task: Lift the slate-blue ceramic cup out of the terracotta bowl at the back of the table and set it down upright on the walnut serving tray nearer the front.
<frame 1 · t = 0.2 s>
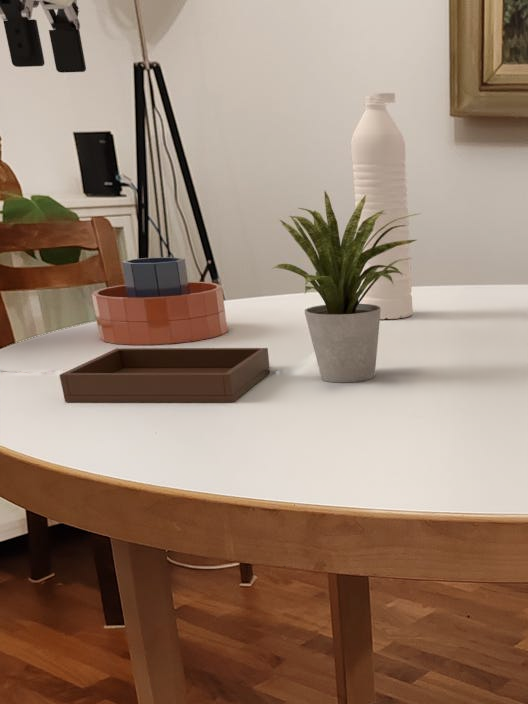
hand: (51, 69, 104), 28 cm above the table, tool pointing down, fingers open, 9 cm apart
water bottle: (389, 318, 126), on the table
tray: (173, 386, 91), on the table
bowl: (165, 339, 114), on the table
cup: (165, 333, 114), point 1 cm above the table, touching bowl
house plant: (348, 381, 93), on the table
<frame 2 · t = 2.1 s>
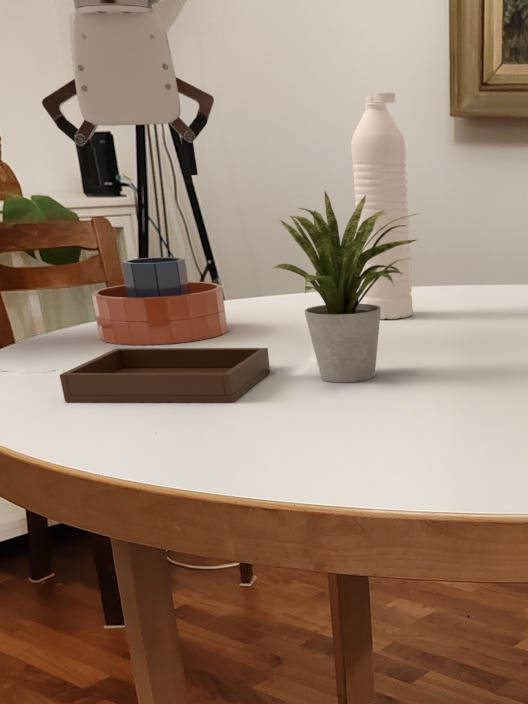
hand: (143, 185, 107), 16 cm above the table, tool pointing down, fingers open, 9 cm apart
nothing on the table moved.
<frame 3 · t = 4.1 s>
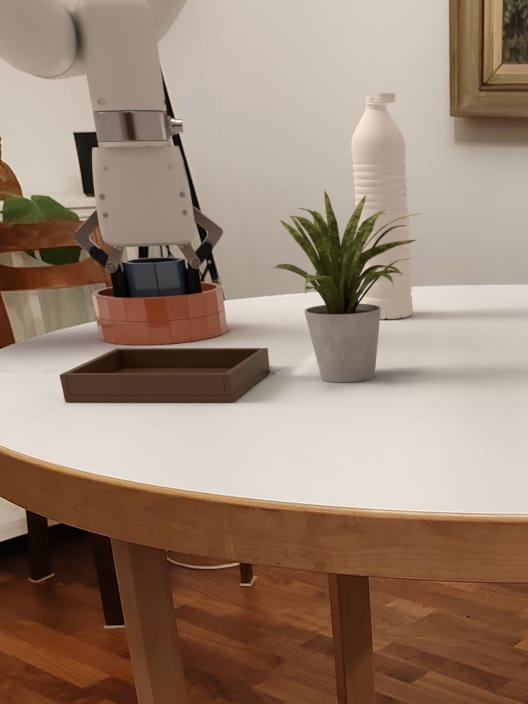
hand: (160, 305, 113), 4 cm above the table, tool pointing down, fingers closed on cup, 6 cm apart
cup: (165, 333, 114), point 1 cm above the table, touching bowl, gripper
everything else where it was.
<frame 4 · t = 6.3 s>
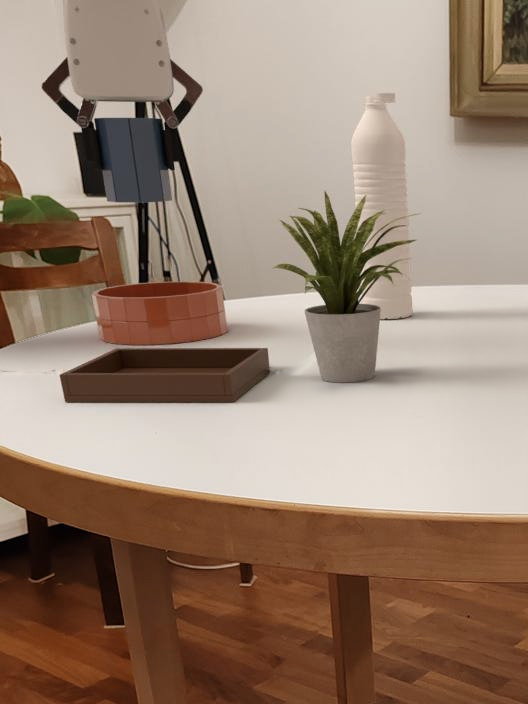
hand: (135, 168, 106), 18 cm above the table, tool pointing down, fingers closed on cup, 6 cm apart
cup: (139, 201, 108), point 15 cm above the table, touching gripper
everything else where it was.
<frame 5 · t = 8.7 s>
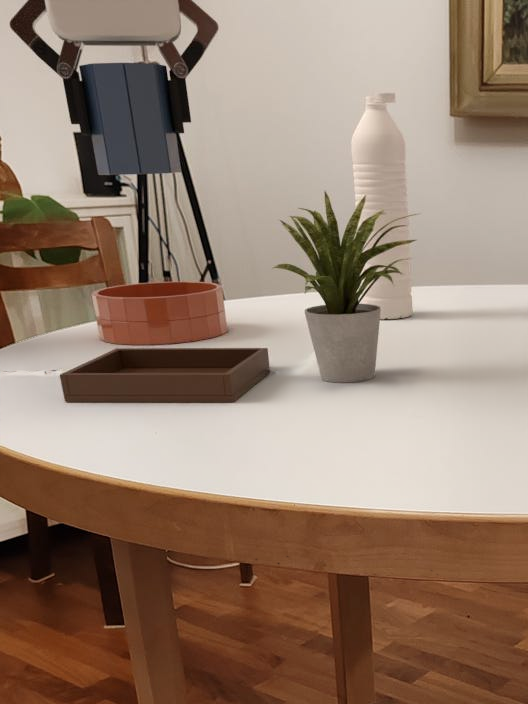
hand: (133, 132, 83), 21 cm above the table, tool pointing down, fingers closed on cup, 6 cm apart
cup: (140, 173, 84), point 18 cm above the table, touching gripper
everything else where it was.
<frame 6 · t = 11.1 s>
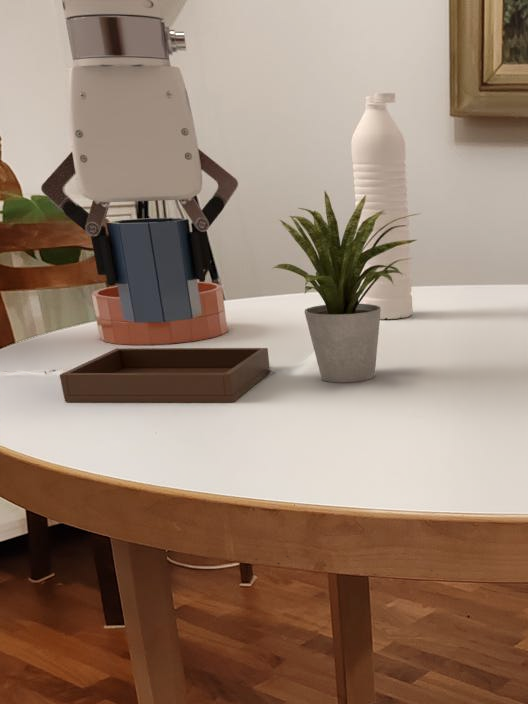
hand: (157, 279, 87), 9 cm above the table, tool pointing down, fingers closed on cup, 6 cm apart
cup: (163, 316, 89), point 6 cm above the table, touching gripper
everything else where it was.
when the fingers open (4 cm above the table, at t = 13.1 s): cup stays where it is, resting on tray.
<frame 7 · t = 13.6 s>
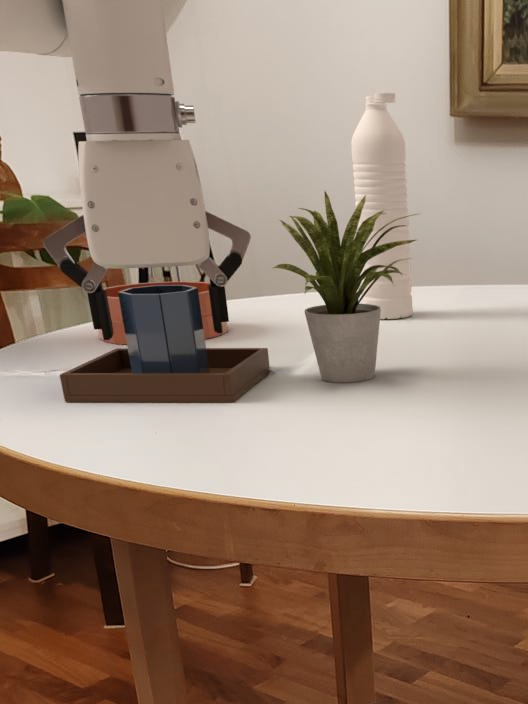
hand: (164, 334, 89), 5 cm above the table, tool pointing down, fingers open, 9 cm apart
cup: (172, 380, 91), point 1 cm above the table, touching tray
everything else where it was.
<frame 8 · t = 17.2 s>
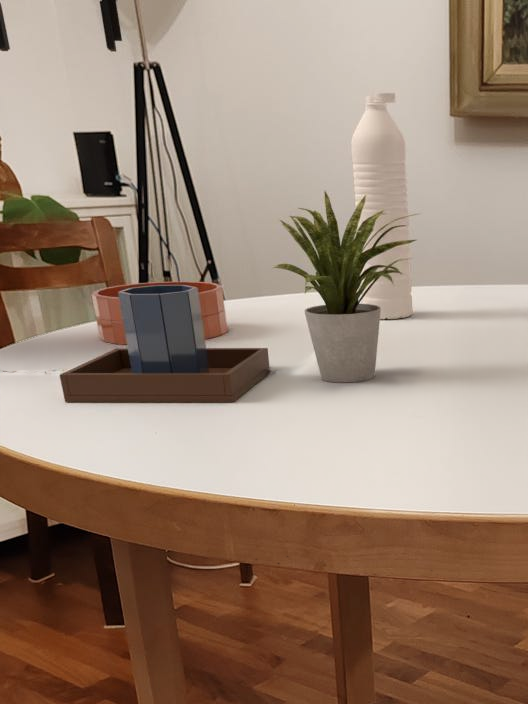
hand: (58, 50, 93), 28 cm above the table, tool pointing down, fingers open, 9 cm apart
nothing on the table moved.
at the end: cup inside the target area in the tray (0.0 cm from its centre), point 0.6 cm above the tray's base; cup tilted 0°; cup touching tray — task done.
